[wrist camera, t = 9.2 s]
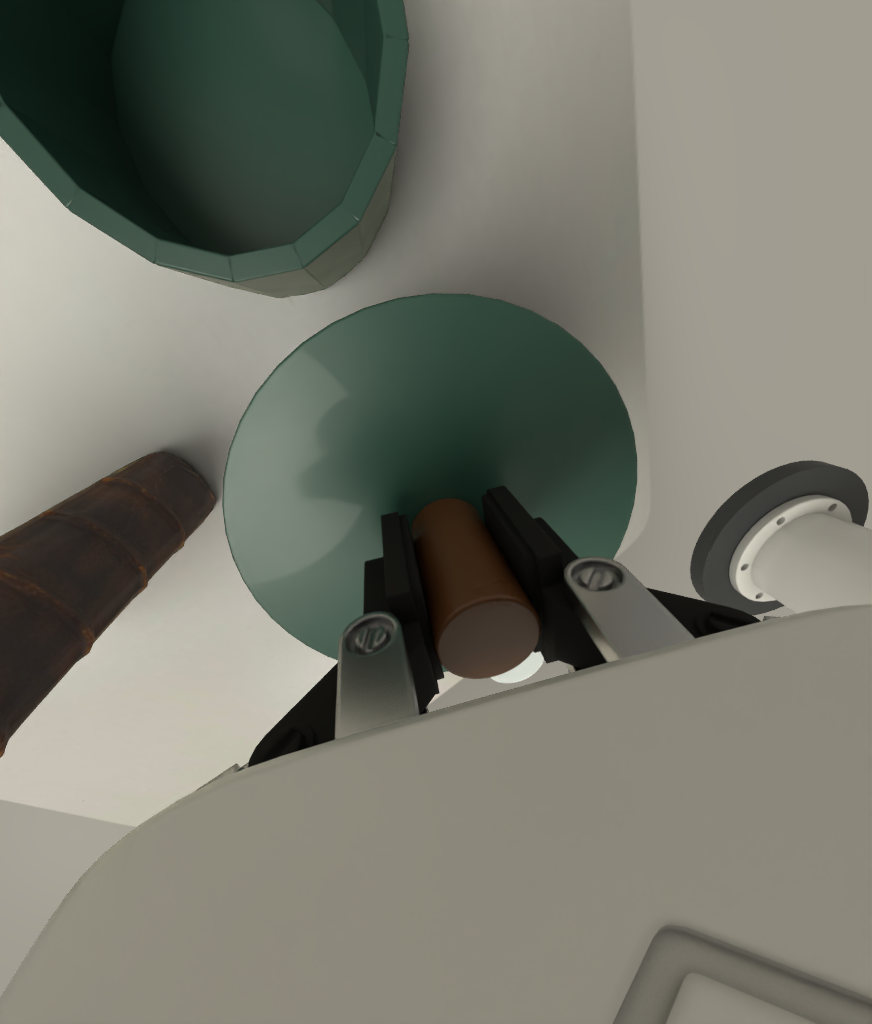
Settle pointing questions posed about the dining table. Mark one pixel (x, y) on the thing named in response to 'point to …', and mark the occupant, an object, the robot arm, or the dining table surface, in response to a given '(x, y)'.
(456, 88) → the dining table surface
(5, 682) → the book
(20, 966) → the robot arm
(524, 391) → the tin lid
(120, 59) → the tin
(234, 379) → the dining table surface
